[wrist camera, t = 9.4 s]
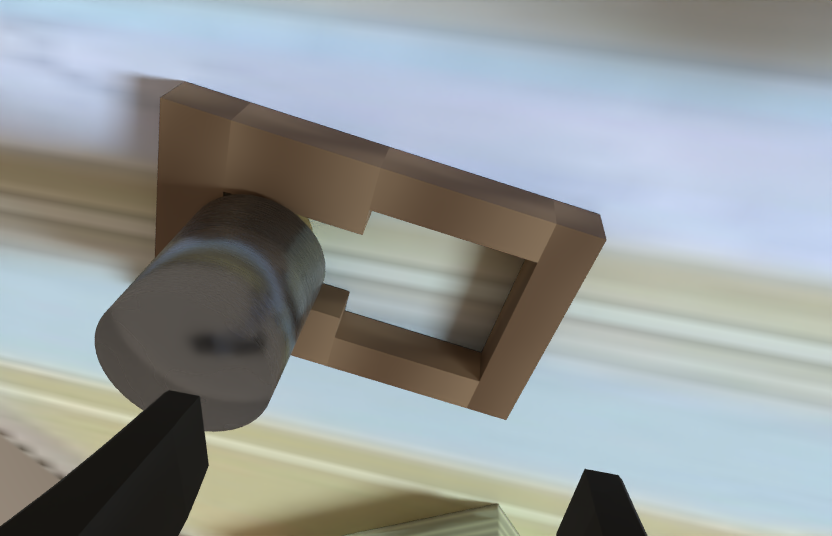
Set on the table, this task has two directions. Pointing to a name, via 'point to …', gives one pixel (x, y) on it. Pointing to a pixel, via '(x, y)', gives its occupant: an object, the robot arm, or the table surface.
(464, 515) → the hardcover book
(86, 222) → the table surface
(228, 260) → the peg
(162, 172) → the keyhole plate
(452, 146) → the table surface
